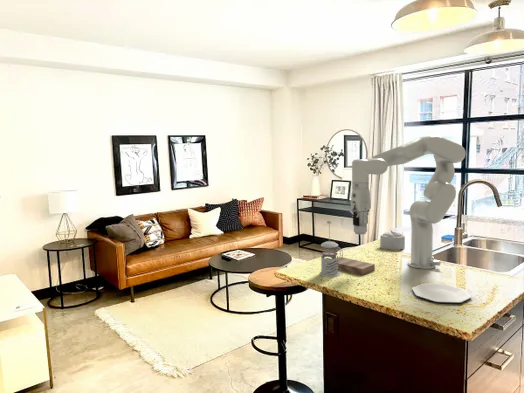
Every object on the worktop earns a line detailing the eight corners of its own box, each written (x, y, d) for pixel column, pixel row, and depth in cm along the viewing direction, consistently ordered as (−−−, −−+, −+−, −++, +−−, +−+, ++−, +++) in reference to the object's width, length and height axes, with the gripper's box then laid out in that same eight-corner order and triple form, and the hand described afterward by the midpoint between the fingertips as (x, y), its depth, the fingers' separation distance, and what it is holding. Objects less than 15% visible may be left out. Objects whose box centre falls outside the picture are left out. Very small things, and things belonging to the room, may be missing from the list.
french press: (315, 272, 181) (314, 220, 179) (335, 268, 186) (335, 217, 183) (326, 278, 172) (325, 223, 170) (348, 274, 177) (347, 220, 174)
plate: (479, 296, 147) (479, 293, 146) (451, 310, 135) (451, 306, 135) (431, 283, 163) (431, 280, 163) (402, 294, 151) (402, 290, 151)
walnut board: (374, 270, 182) (374, 264, 181) (362, 275, 175) (362, 269, 175) (340, 262, 196) (339, 256, 196) (327, 266, 190) (327, 260, 190)
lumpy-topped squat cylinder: (385, 244, 231) (385, 230, 230) (407, 247, 223) (407, 232, 222) (378, 248, 223) (378, 233, 222) (401, 251, 215) (401, 235, 214)
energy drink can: (366, 232, 183) (366, 200, 181) (367, 234, 177) (367, 202, 176) (353, 231, 184) (353, 200, 183) (353, 234, 178) (353, 202, 177)
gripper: (356, 188, 170) (356, 228, 172) (377, 185, 181) (377, 222, 183) (342, 187, 175) (342, 226, 177) (364, 184, 187) (364, 221, 189)
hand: (360, 224), depth 180 cm, fingers closed on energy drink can, 6 cm apart
